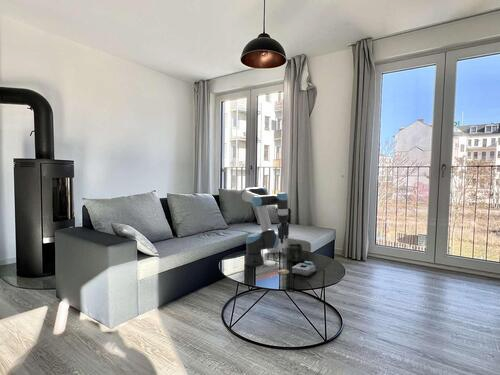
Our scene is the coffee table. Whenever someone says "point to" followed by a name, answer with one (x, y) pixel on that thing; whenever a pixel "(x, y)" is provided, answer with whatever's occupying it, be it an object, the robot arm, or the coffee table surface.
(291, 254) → the mug
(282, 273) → the coaster
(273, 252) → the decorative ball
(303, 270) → the block
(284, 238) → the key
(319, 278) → the coffee table surface
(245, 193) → the robot arm
